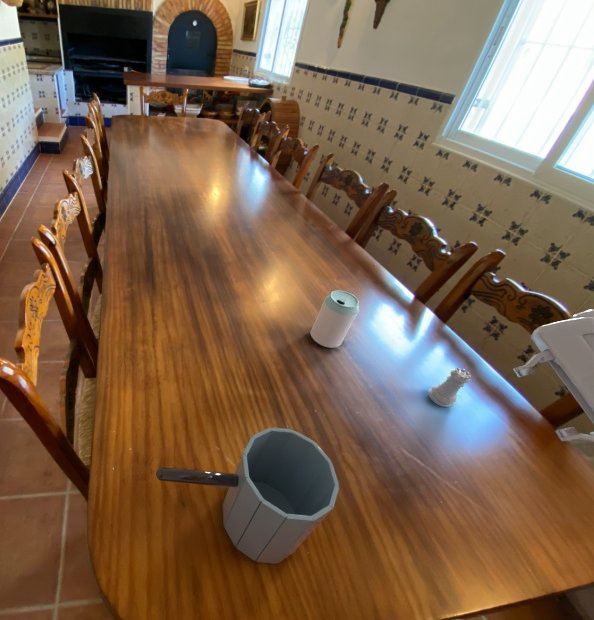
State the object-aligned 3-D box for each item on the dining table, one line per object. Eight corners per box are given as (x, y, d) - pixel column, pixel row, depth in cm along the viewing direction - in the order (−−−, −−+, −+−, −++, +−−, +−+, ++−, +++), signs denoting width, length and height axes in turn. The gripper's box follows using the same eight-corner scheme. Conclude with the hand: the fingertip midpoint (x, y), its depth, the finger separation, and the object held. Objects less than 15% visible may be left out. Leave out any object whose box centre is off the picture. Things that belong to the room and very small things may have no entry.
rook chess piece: (432, 386, 74) (454, 360, 69) (455, 400, 71) (480, 374, 66) (423, 396, 72) (446, 370, 66) (447, 412, 69) (472, 386, 64)
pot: (290, 483, 56) (323, 432, 47) (306, 566, 48) (351, 524, 38) (156, 471, 56) (161, 417, 47) (149, 552, 48) (153, 506, 38)
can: (343, 352, 80) (366, 311, 72) (311, 346, 81) (330, 305, 73) (337, 331, 85) (358, 291, 78) (307, 326, 86) (325, 285, 78)
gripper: (616, 298, 50) (499, 334, 55) (753, 451, 41) (599, 478, 46) (593, 311, 55) (488, 343, 60) (709, 450, 46) (575, 474, 51)
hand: (537, 403), depth 53 cm, fingers open, 8 cm apart
